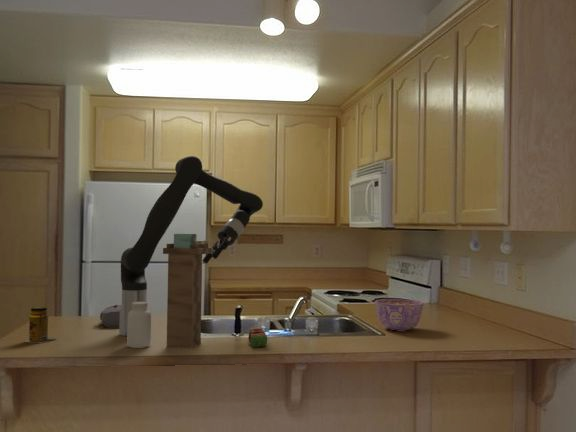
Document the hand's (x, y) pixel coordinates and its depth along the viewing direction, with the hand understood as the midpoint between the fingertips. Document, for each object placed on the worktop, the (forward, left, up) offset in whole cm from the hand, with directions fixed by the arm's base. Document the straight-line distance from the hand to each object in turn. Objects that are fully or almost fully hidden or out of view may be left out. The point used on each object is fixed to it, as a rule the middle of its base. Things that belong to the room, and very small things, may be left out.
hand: (208, 259), depth 215 cm
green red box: (+28, -6, -29) cm, 41 cm away
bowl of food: (+59, +52, -29) cm, 84 cm away
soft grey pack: (-44, -6, -29) cm, 53 cm away
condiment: (-39, -46, -29) cm, 67 cm away
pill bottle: (-4, -32, -29) cm, 43 cm away
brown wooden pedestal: (+7, -20, -29) cm, 36 cm away
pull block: (+5, -15, +5) cm, 16 cm away
